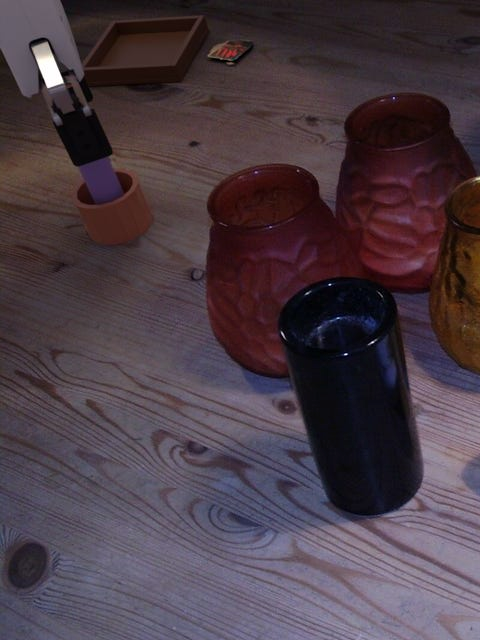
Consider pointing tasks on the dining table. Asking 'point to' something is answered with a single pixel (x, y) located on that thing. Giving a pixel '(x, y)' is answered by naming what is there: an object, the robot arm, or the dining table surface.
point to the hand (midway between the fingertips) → (84, 131)
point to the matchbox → (230, 49)
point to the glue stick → (101, 181)
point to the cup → (115, 211)
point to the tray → (145, 51)
